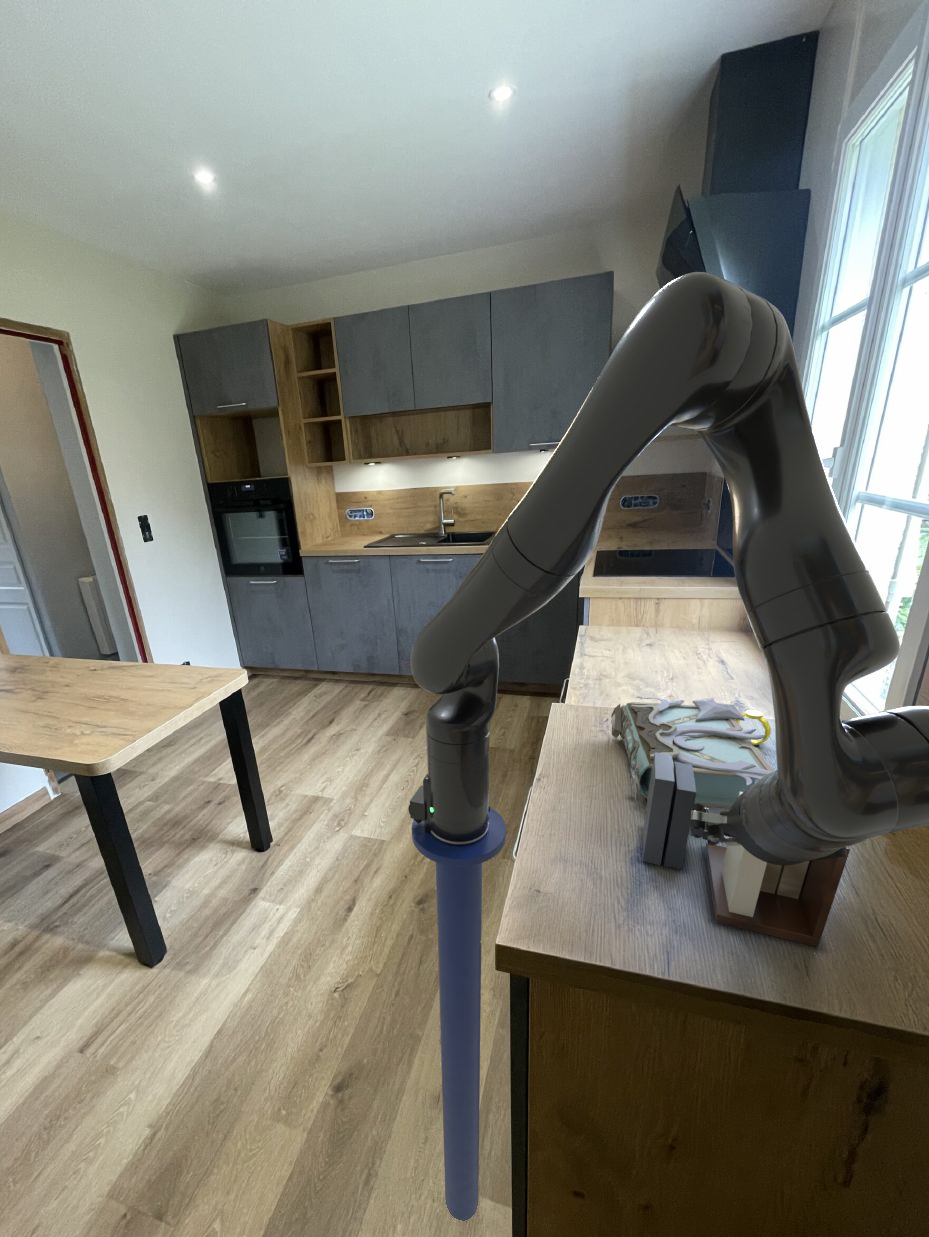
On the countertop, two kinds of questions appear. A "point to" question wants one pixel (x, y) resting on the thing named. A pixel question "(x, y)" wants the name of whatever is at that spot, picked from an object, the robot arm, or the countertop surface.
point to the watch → (759, 716)
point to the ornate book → (692, 746)
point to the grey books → (668, 811)
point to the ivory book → (742, 879)
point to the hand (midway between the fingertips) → (740, 841)
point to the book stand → (782, 897)
